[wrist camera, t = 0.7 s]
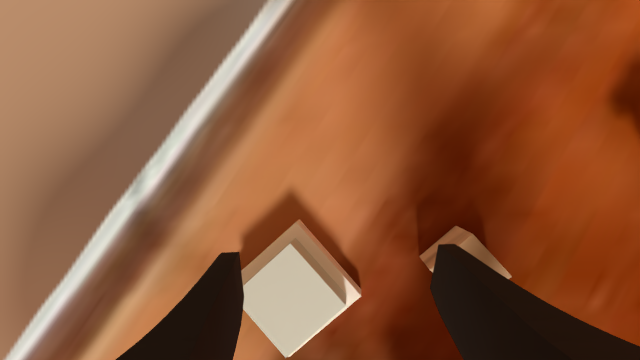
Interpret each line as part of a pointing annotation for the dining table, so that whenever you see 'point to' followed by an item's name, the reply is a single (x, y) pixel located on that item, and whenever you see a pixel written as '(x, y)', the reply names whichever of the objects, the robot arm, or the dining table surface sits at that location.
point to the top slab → (292, 297)
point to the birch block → (466, 243)
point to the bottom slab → (318, 254)
